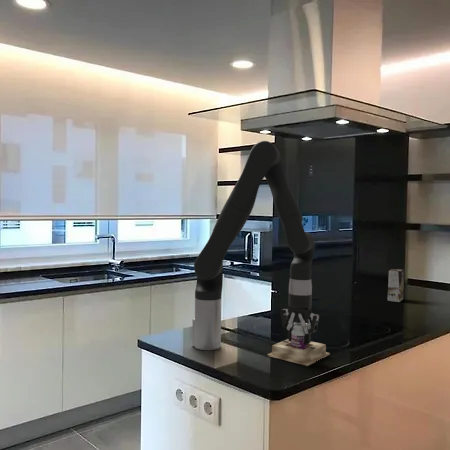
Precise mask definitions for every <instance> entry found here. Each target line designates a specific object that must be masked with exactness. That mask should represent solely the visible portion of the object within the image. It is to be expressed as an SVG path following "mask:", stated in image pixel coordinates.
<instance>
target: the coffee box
mask: <svg viewBox="0 0 450 450" xmlns="http://www.w3.org/2000/svg"><path fill="white" fill-rule="evenodd" d="M404 278H405V269H400V268H396V269H395V268H391V269H389V270H388V284H387V286H388V287H387V301H389V302H396V303H400V302H402V301H403V300H404V286H405V285H404V281H405V280H404Z"/></svg>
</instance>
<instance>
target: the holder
mask: <svg viewBox="0 0 450 450" xmlns="http://www.w3.org/2000/svg"><path fill="white" fill-rule="evenodd" d="M330 355H331V353H330V352H327V345H326V344H324V343H320V342H315V341H312V340H311V342H310V343H309V344H308V345H307V348H306V349H304V350H302V349H298V348H293V347H291V341H289V339H288V338H287V339H285V340H282V341H280V342H277V343H274V344H273V345H271V352H269V353H267V357H271V358H275V359H279V360H283V361H286V362H290V363H294V364H298V365H302V366H306V367H309V366H311V365H312V364H315V363H317V362H318V360H319V361H320V359H321V360H322V358H323V359H324V358H326V357H328V356H330ZM316 361H317V362H316Z"/></svg>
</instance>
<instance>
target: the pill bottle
mask: <svg viewBox="0 0 450 450" xmlns="http://www.w3.org/2000/svg"><path fill="white" fill-rule="evenodd" d="M304 339H305V331H304V328H303V327H302V324H301V323H298V322H296V323H294V328H293V330H292V332H291V347H293V348H298V349H302V350H304V349H306V348H307V345H305V344H304Z"/></svg>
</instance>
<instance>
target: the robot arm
mask: <svg viewBox="0 0 450 450" xmlns="http://www.w3.org/2000/svg"><path fill="white" fill-rule="evenodd" d="M264 178H265V180H266V182H267V185H268V186H269V189H270V192H271V196H272V200H273V203H274V206H275V210H276V212H277V215H278V216H279V220H280V221H281V224H282V226H283V227H282V228H283V232H284V236H285V240H286V243H287V245H288V248H289V249H290V251H291V252H292V253H293V259H292V261H291V263H290V266H289V267H290V268H289V283H288V308H282V309H281V310H280V319H281V324H282V328H285V329H286V330H287V339H289V341H291V332H292V330H293V329H294V323H301V324H302V327H303V328H304V331H305V339H304V344H305V345H308V344H309V343H310V342H311V341H312V333H315V332H317V331H318V327H319V326H318V325H319V321H320V317H321V316H320V314H315V313H313V312H312V301H313V300H312V298H313V297H312V296H313V295H312V294H313V293H312V292H313V291H312V290H313V284H312V272H313V271H312V263H313V260H314V253H315V238H314V237H313V235H312V234H311V233H310V232H307V231H305V228H304V225H303V216H302V213H301V211H300V207H299V206H298V203H297V201H296V199H295V197H294V194H293V192H292V190H291V188H290V186H289V183H288V180H287V179H286V175H285V171H284V169H283V164H282V159H281V153H280V151H279V149H278V148H277V147H276V145H274V144H273V143H272V142H270V141H268V140H261V141H258V142H257V143H256V144H255V145H253V146H252V148H251V150H250V152H249V153H248V157H247V160H246V162H245V165H244V168H243V170H242V171H241V174H240V176H239V178H238V180H237V182H236V183H235V185H234V187H233V188H232V190H231V193H230V194H229V195H228V198H227V199H226V201H225V203H224V204H223V207H222V209H221V211H220V214H219V215H218V217H217V220H216V223H215V224H214V227H213V229H212V232H211V235H210V237H209V239H208V240H207V242H206V243H205V245H204V247H203V248H202V250H201V251H200V253H199V255H197V257H196V259H195V261H194V263H193V270H194V274H195V275H196V286H195V291H194V318H192V324H191V325H192V327H191V328H192V329H191V330H192V331H191V333H192V335H191V336H192V337H191V338H192V339H191V341H192V342H191V346H192V347H194V348H195V349H197V350H201V351H214V350H218V349H220V348H221V346H222V342H221V341H222V338H221V337H222V292H223V286H224V285H223V281H224V280H223V279H224V263H223V262H224V260H225V257H226V254H227V252H228V251H229V249H230V248H231V245H232V243H234V241H235V240H236V238H237V237H238V236H239V234H240V233H241V231H242V230H243V228H244V227H245V224H246V223H247V221H248V219H249V217H250V215H251V213H252V211H253V208H254V206H255V203H256V200H257V196H258V192H259V188H260V186H261V183H262V181H263V180H264ZM310 320H311V322H310Z"/></svg>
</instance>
